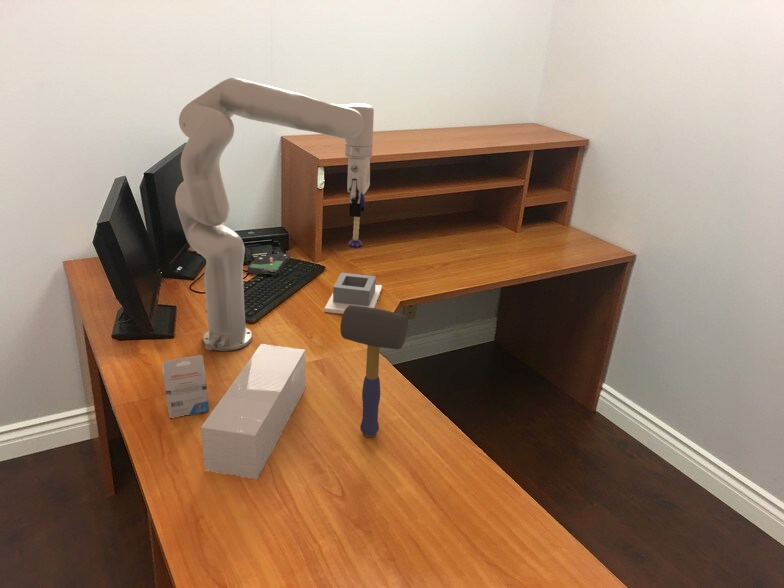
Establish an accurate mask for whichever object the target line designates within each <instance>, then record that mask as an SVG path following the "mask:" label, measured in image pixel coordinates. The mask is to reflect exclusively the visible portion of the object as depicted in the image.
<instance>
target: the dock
mask: <svg viewBox="0 0 784 588" xmlns="http://www.w3.org/2000/svg"><path fill="white" fill-rule="evenodd" d="M376 279H377V276H375V275H368V274H358V273H348V272H340V274H339V276H338V278H337V279H336V281H335V283H334V285H333V286H332V289H333V290H332V294H331V296H329V299H328V301H327V303H326V305H325V306H324V313H332V314H342V315H343V313H344V311H345V309H346V308H347V307H348V306H350V305H353V306H362V307H370V308H376V306H377V303H378V301H377V300H379V297H380V295H381V293H380V292H382V290H383V285H381V284H376Z"/></svg>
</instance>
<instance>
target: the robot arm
mask: <svg viewBox="0 0 784 588" xmlns="http://www.w3.org/2000/svg"><path fill="white" fill-rule="evenodd" d="M374 113H375V112H374V107H373V106H372V105H370V104H367V103H361V102H360V103H359V102H358V103H356V102H355V103H349V104H337V103H329V102H325V101H321V100H319V99H315V98H313V97H310V96H307V95H305V94H301V93H299V92H295V91H291V90H286V89H282V88H279V87H275V86H271V85H266V84H263V83H259V82H254V81H250V80H246V79H242V78H239V77H229V78H227V79H224V80H223V81H221V82H219V83H217V84H216V85H214V86H213V87H211V88H209V89H208V90H207V91H205V92H204V93H202V94H201V95H199V96H198V97H196V98H194V99H193V100H191V101H190V102H189V103H187V104H186V105H185V106H184V107H183V108H182V109H181V112H180V113H179V116H178V125H179V128H180V131H182V133H183V134H184V135H185V136H186V137H188V140H187V142H186V144H185V146H184V148H183V150H182V153H181V156H180V170H181V173H182V177H183V181H182V182H181V183H180V184H179V185H178V186H177V189H176V190H175V191H176V192H175V195H174V196H175V197H174V200H175V201H174V202H175V207H176V210H177V213H178V217H179V220H180V223H181V226H182V229H183V233H184V236H185V239H186V241H187V242H188V244H189V246H190V248H192V249H193V250H194V251H195V252H197V253H198V254H199V255H201V257H203V258H204V259H205V260H206V261H205V262H206V266H205V270H204V277H203V278H204V289H205V290H204V292H205V293H204V294H205V302H206V304H205V305H206V314H207V315H206V316H207V325H208V326H207V327H208V330H207V331H206V332H205V333H204V334H203V338H202V339H203V344H204V348H205V349H206V350H208V351H211V350H213V351H220V352H228V351H232V352H233V351H235V350H236V351H237V350H239V349H243V348H244V347H246V346H248V345H249V344H250V343H251V342H252V339H253V333H252V331H251V329H249V328H247V327H246V310H245V293H244V275H243V273H244V272H243V269H244V260H245V252H246V251H245V249H246V247H245V244H244V241H243V239H242V237H241V236H240V235H239V234H238V232H237V231H235V230H233V229H232V228H230V227H228V226H227V225H225V224H224V223H225V222H226V221H227V219H228V218H229V215H230V205H229V204H230V203H229V200H228V197H227V192H226V189H225V184H224V182H223V179H222V173H221V172H222V171H221V167H220V160H221V158H222V154H223V153H224V151H225V149H226V148H227V147H228V146H229V144H230V143H231V141H232V139H233V138H234V135H235V134H234V133H235V126H234V122H233V120H232V117H233V116H238V117H241V118H244V119H247V120H252V121H256V122H262V123H267V124H272V125H277V126H281V127H286V128H291V129H295V130H299V131H307V132H314V133H316V134H322V135H327V136H329V137H334V138H340V139H344V141H345V142H344V149H345V150H344V156H345V157H347V159H348V161H347V163H348V164H347V183H346V184H347V185H346V188H347V189H346V190H347V192H348V193H349V194H350V195H349V203H350V204H349V213H348V214H349V216H350V217H353V218H354V217H360V218H361V215H362V212H364V211H365V207H362V208H361V203H360V197H361V193H362V194H364V196H365V194H366V193H367V191H368V190H369V187H370V186H371V182H370V181H371V163H370V161H371V160H370V159H371V158H372V157H373V142H374V141H373V140H374V139H373V138H374ZM357 190H358V191H359V192H356V191H357ZM356 195H358V197H357V196H356Z"/></svg>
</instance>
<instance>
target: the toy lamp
mask: <svg viewBox="0 0 784 588" xmlns="http://www.w3.org/2000/svg"><path fill="white" fill-rule="evenodd" d="M356 192H359V191H358V190H357V191H356ZM356 196H357V197H358V195H356ZM360 203H361V208H362V207H364V208H365V207H366V203H367V202H366V198H365V195H364V194H362V193H361V197H360ZM349 205H350V202H349ZM360 220H361V216H360V217H353V227H352V229H353V231H352V235H353V236H352V239H351V240H349V242H348V244H347V245H348V247H349V248H351V249H360V248H363V246H364V245H363V242H362V240H360V239H359V235H360V231H359V230H360V223H361V222H360Z"/></svg>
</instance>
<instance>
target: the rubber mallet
mask: <svg viewBox="0 0 784 588" xmlns="http://www.w3.org/2000/svg"><path fill="white" fill-rule="evenodd" d="M408 324H409V320H408V317H407V316H406V315H404V314H401V313H397V312H394V311H390V310H385V309H382V308H376V307H375V308H370V307H362V306H353V305H350V306H348V307H347V308H346V309H345V311H344V313H343V314H342V316H341V320H340V326H339V327H340V328H339V330H340V335H341V338H342V339H344V340H347V341H351V342H355V343H358V344H363V345H366V347H367V348H366V351H367V352H366V365H365V366H366V367H365V369H366V370H365V376H364V378H363V379H364V380H363V385H362V389H361V390H362V391H361V392H362V393H361V401H362V419H361V421H360V422H361V423H360V432H361V433H362V435H363V436H364V437H367V438H373V437H375V436H376V435H377V434H378V432H379V429H380V426H379V425H380V424H379V419H378V418H379V417H378V416H379V405H380V401H381V380H380V376H379V369H380V368H379V366H380V348H384V349H392V350H400V349H402V348H403V346H404V344H405V342H406V338H407V334H408V327H409V325H408Z"/></svg>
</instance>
